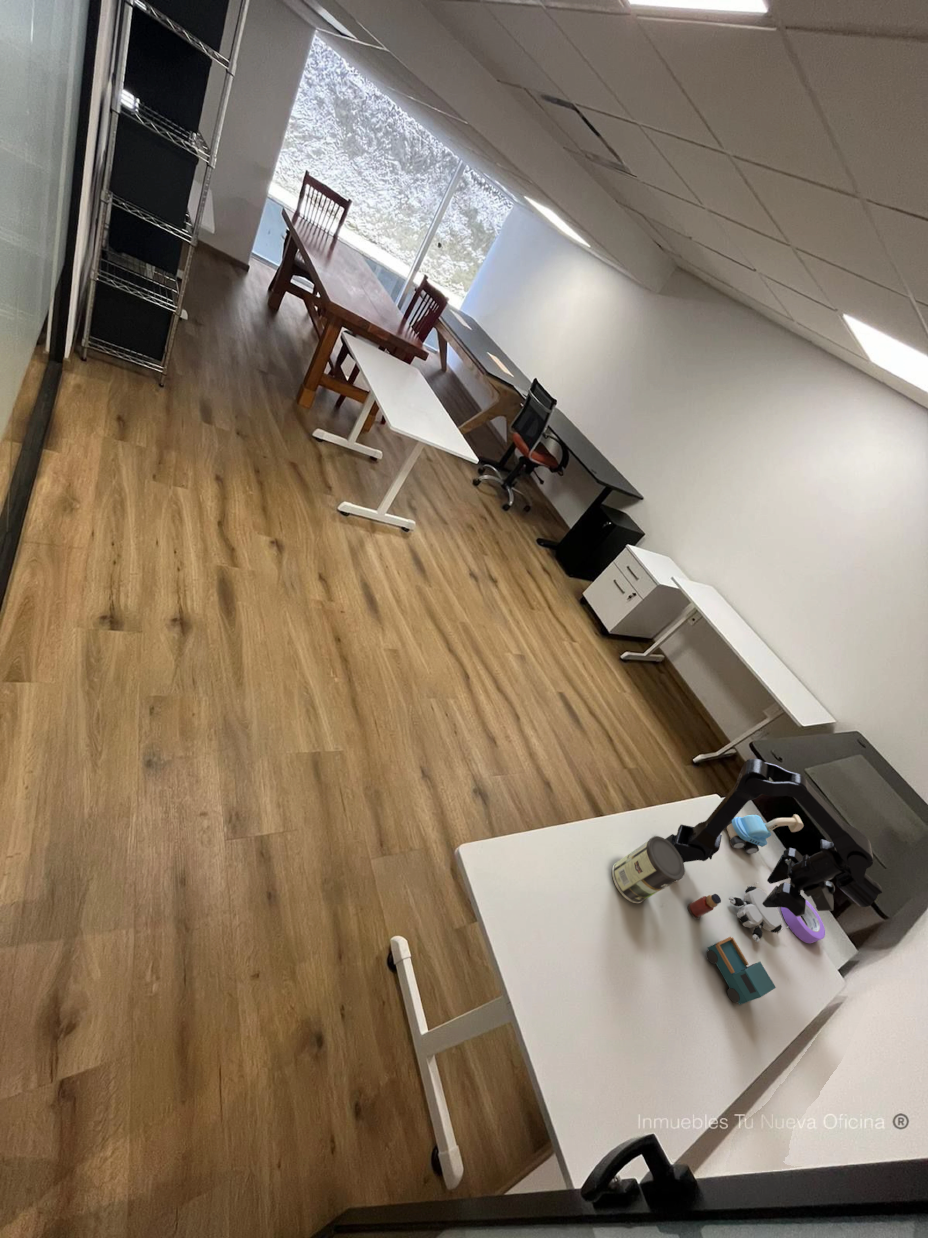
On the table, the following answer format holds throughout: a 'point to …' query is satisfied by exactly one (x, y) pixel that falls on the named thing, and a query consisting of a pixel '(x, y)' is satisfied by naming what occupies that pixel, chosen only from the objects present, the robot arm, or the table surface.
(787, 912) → the tape roll
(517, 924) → the table surface
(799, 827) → the toy excavator
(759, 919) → the robot toy
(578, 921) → the table surface
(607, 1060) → the table surface
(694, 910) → the figure
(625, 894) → the coffee can
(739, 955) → the truck
